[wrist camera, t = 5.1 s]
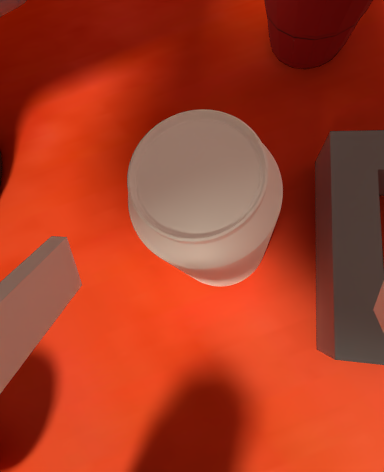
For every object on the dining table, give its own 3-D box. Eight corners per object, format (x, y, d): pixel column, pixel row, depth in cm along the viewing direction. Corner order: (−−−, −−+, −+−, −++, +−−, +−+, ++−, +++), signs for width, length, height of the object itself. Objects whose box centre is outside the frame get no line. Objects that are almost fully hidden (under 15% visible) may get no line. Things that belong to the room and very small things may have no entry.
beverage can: (163, 257, 22) (75, 201, 11) (208, 189, 23) (173, 68, 11) (234, 305, 20) (222, 301, 9) (281, 231, 21) (326, 137, 10)
